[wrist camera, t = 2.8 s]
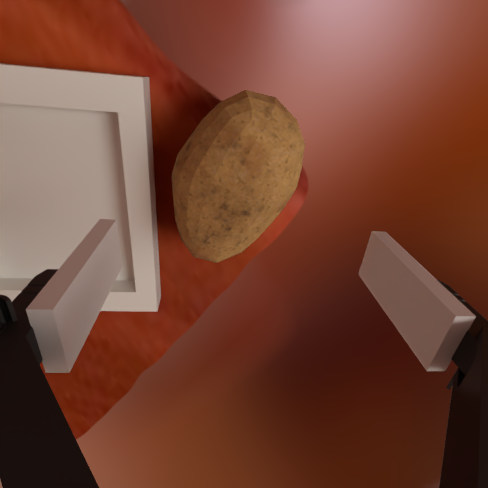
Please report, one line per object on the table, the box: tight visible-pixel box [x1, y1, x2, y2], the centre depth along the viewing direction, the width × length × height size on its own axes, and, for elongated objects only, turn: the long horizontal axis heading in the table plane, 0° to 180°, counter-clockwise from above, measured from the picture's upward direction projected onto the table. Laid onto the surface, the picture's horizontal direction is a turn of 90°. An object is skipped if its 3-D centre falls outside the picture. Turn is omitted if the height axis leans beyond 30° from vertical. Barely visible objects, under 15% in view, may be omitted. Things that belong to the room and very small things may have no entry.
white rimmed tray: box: [0, 63, 161, 311], centre depth 28 cm, size 22×18×3 cm
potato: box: [172, 90, 305, 263], centre depth 25 cm, size 10×14×8 cm
